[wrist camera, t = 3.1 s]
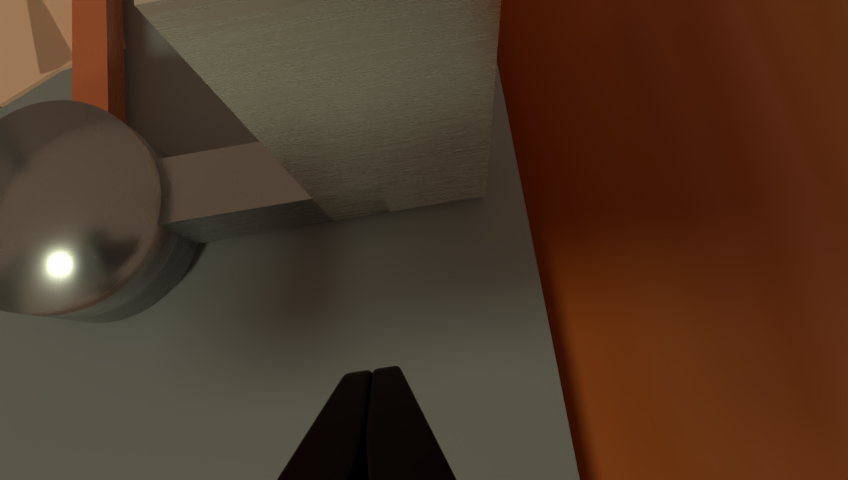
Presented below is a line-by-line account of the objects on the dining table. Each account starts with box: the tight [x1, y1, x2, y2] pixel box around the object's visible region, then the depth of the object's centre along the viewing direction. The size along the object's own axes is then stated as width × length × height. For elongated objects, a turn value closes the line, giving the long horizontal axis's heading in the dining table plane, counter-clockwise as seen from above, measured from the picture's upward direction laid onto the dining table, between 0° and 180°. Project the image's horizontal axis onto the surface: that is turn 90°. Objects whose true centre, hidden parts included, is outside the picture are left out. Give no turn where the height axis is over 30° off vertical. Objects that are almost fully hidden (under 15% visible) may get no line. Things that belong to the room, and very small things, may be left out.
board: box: [0, 0, 580, 480], centre depth 16 cm, size 22×22×1 cm
